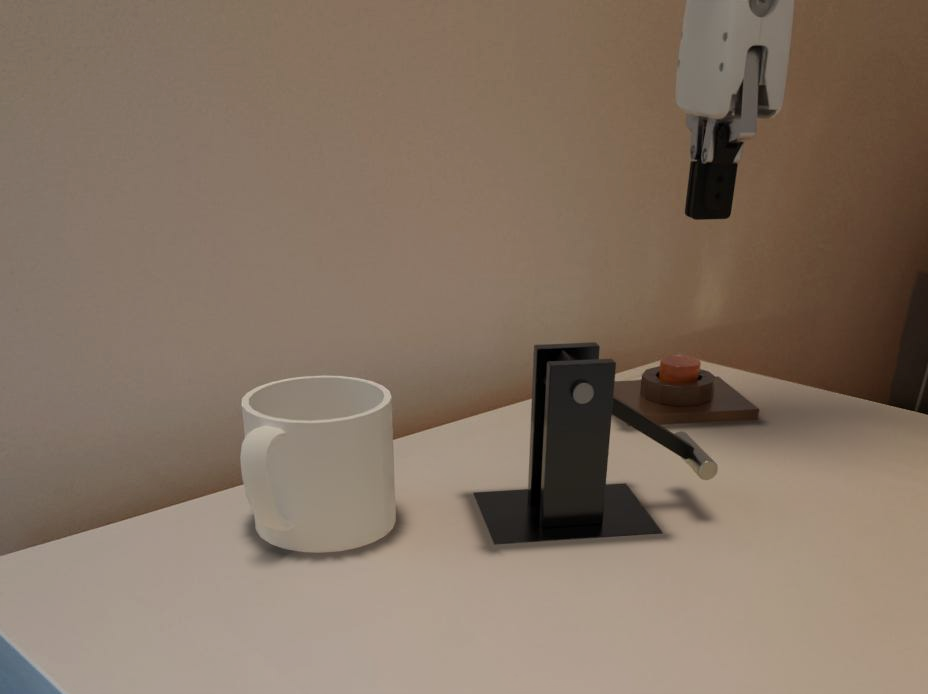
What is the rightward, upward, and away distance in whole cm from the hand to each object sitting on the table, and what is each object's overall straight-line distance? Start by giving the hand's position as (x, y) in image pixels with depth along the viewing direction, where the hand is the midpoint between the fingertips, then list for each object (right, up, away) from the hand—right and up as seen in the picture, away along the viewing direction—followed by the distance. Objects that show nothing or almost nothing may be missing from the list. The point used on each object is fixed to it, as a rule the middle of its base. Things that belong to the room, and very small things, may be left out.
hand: (707, 217), depth 79 cm
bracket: (-12, -25, -5) cm, 28 cm away
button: (+1, -9, +13) cm, 16 cm away
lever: (-8, -19, -9) cm, 22 cm away
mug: (-30, -27, -7) cm, 41 cm away
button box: (+1, -13, +15) cm, 20 cm away
